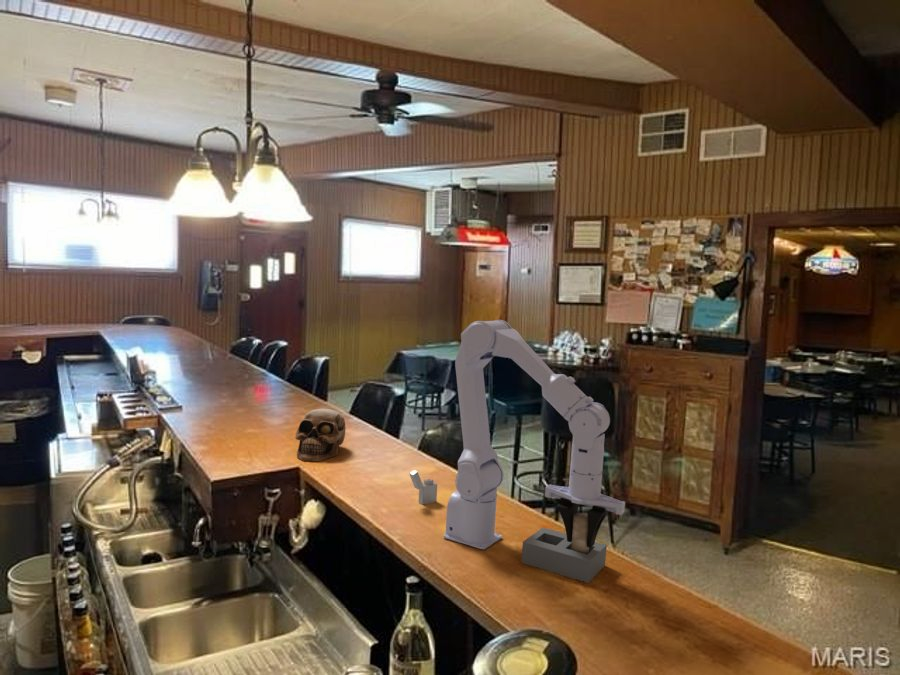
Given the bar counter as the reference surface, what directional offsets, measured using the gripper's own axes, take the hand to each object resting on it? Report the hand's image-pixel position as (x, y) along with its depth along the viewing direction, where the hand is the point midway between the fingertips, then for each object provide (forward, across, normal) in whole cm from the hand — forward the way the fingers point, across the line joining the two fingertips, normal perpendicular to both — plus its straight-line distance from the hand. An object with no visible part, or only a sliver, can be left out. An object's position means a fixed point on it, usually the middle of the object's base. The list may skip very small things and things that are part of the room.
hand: (580, 542), depth 119 cm
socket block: (+5, -3, 0) cm, 6 cm away
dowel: (+3, 0, 0) cm, 3 cm away
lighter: (+5, -42, +10) cm, 43 cm away
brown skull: (+5, -87, +25) cm, 91 cm away
